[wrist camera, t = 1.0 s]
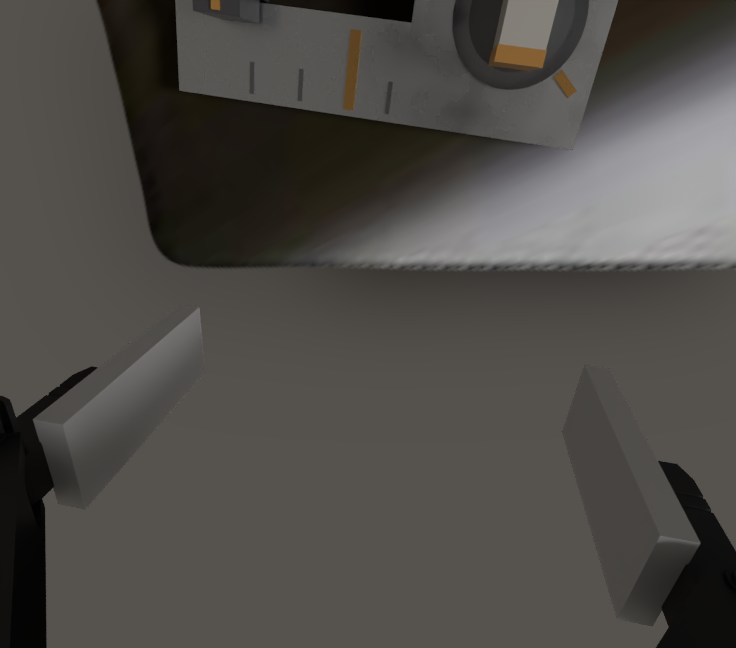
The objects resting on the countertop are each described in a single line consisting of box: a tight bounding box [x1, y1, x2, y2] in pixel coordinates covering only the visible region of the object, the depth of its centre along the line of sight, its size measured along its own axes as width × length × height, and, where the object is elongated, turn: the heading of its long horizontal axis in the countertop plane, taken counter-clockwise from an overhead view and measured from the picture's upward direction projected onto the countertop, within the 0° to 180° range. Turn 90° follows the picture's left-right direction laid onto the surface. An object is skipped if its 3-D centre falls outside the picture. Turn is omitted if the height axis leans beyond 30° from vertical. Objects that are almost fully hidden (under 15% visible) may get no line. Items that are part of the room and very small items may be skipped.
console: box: [175, 0, 618, 150], centre depth 32 cm, size 14×28×3 cm, turn 83°
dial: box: [469, 0, 575, 72], centre depth 27 cm, size 6×6×6 cm
